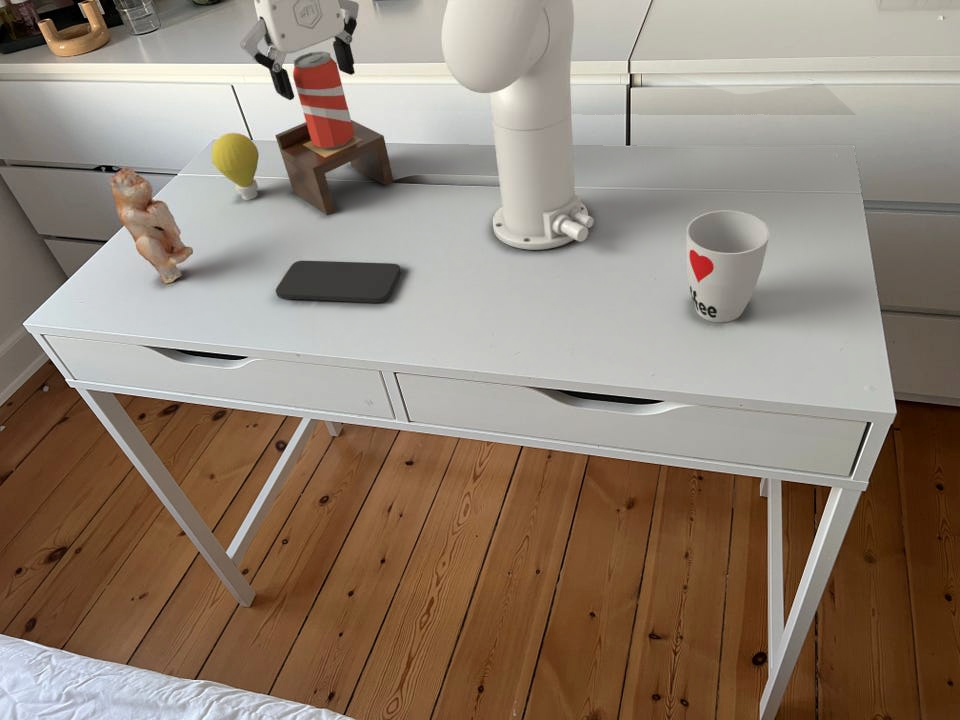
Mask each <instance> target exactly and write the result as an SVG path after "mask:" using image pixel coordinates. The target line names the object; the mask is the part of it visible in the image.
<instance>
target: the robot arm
mask: <svg viewBox="0 0 960 720" xmlns="http://www.w3.org/2000/svg"><path fill="white" fill-rule="evenodd" d="M253 3H254V7H255V13H256V16H257V20H258V21H257V22H256V23H255V24H254V26H253V27H252V28H251V29H250V30H249V31H248V33H247V34H246V35H245V36H244V38H243V39H242V40H241V41H240V43H239V45H240V48H241V49H242V50H243V51H244V52H245V53H246V54H247V55H248V56H249V57H250V58H251V59H252V61H254V62H256V63H257V64H259V65H261V66H263V67H265V68H266V69H268V71H269V75H270V77H271V81H272V83H273V86H274V89H275V92H276V93H277V94H278V95H279V96H281V97H282V98H285V99H286V100H288V101H292V100H294V98H295V92H294V90H293V87H292V83H291V80H290V77H289V73H288V70H287V69H285V68H284V67H283V66H284V62H285V59H286V56H287V54H294V53H296V52H299V51H303V50H305V49H307V48H310V47H313V46H315V45H318V44H320V43H323V42H326V41H329V40H330V39H333V38H334V41H332V43H333V44H332V46H333V51H334V55H335V59H336V63H337V67H338V71H339V72H342V73H345V74H348V75H349V76H352V75H354V74H355V68H354V65H355V60H354V55H353V52H352V48H351V43H352V42H353V34H354V32H355V30H356V28H357V25H358V22H357V19H358V15H359V8H360V5H359V2H357V1H355V0H253ZM342 9H343V10H344V15H343V12H342ZM442 20H443V21H442V26H441V35H440V36H441V38H440V39H441V40H440V41H441V42H440V43H441V51H442V55H443V58H444V62H445V64H446V67H447V69H448V71H449V73H450V74H451V75H452V77H453V78H454V79H455V81H456V82H458V83H459V84H460V85H461V86H462V87H463V88H465V89H467V90H469V91H472V92H475V93H480V94H489V103H490V112H491V113H490V114H491V124H492V132H493V141H494V149H495V155H496V165H497V173H498V182H499V189H500V197H501V206H500V208H498V209H497V210H496V212H495V213H494V215H493V217H492V228H493V233H494V235H495V236H496V237H497V239H498V240H499V241H501V242H502V243H504V244H506V245H508V246H510V247H512V248H516V249H521V250H527V251H529V250H530V251H540V250H549V249H553V248H557V247H562V246H564V245H566V244H568V243H570V242H573V241H574V240H575V241H576V242H579V243H582V242H584V241H585V240H586V239H587V237H588V235H589V229H590V228H592V227H593V225H594V223H595V219H594V217H592V216H590V215H589V213H588V209H587V207H586V205H585V204H584V203H583V202H582V199H581V197H580V196H578V195H576V185H575V166H574V165H575V164H574V145H573V144H574V143H573V123H572V93H571V91H572V90H571V67H572V66H571V63H572V50H573V40H574V29H575V28H574V27H575V11H574V3H573V0H447V3H446V7H445V11H444V15H443V19H442ZM262 39H263V40H264V42H265V43H264V44H265V45H266V46H267V50H266V53H265V54H263V53H262V51H260V49H259V47H258V44H259V43H260V41H261V40H262Z"/></svg>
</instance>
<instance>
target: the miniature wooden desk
mask: <svg viewBox="0 0 960 720" xmlns="http://www.w3.org/2000/svg"><path fill="white" fill-rule="evenodd" d="M348 111H349V112H350V110H349V109H348ZM349 115H350V113H349ZM350 116H351V115H350ZM350 119H351V117H350ZM351 123H352V127H353V131H354V136H353V137H352V138H351V139H350V141H349V142H347V143H346V144H345V145H343V146H341V147H338V148H334V149H324V148H321V147H319V146H316V145H313V144H312V140H311V137H310V134H309V130H308V127H307V123H306V121H305V122H303V123H299V124H298V125H295V126H293V127H290V128H289V129H286V130H284V131H282V132H279V133H277V134H275V138H276V143H277V146H278V148H279V152H280V155H281V158H282V161H283V165H284V167H285V170H286V173H287V176H288V180H289V182H290V186H291V189H292V192H293V194H294V195H296V196H298V197H299V198H301V199H302V200H303V201H305V202H307V203H308V204H310V205H311V206H312V207H314V208H315V209H317V210H318V211H320V212H322V213H324V215H327V216H328V215H330V214H332V213H335V212H336V208H335V204H334V201H333V197H332V194H331V190H330V187H329V183H328V179H327V177H326V174H327V173H329V172H331V171H334V170H336V169H337V168H338V169H339V168H340V167H342V166H344V165H346V164H349V163H350V166H351V167H352V168H354V169H356V170H357V171H359V172H361V173H363V174H365V175H366V176H368V177H370V178H372V179H374V180H376V181H377V182H379V183H380V184H382V185H384V186H388V185H390V184H392V183H394V182H395V180H394V175H393V172H392V167H391V163H390V158H389V154H388V148H387V145H386V140H385V135H383V134H381V133H379V132H377V131H375V130H373V129H371V128H369V127H367V126H365V125H362V124H361V123H359V122H358V121H355V120H353V119H351Z"/></svg>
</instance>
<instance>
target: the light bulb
mask: <svg viewBox="0 0 960 720" xmlns="http://www.w3.org/2000/svg"><path fill="white" fill-rule="evenodd" d="M259 156H260V155H259V150H258V147H257V146H256V144H255V143H254V142H253V141H252V140H251V139H250V137H248V136H246V135H245V134H242V133H240V132H239V133H237V132H230V133H226V134H222V135H221V136H220V137H219V138H218V139H217V140H216V141H215V142H214V144H213V146H212V149H211V160H212V163H213V166H214V167H215V168H216V169H217V170H218V171H219V172H220V173H221V174H222V175H223V176H224V177H225V178H226V179H228V180H229V181H231V182H232V183H234V184H235V187H234V188H235V190H236V193H237V194H238V195H240V196H241V198H242V200H246V201H250V200H253V199H255V198H257V196H258V189H259V185H258V182H257V180H256V179H254V178H255V176H256V172H257V169H258V163H259V158H260V157H259Z"/></svg>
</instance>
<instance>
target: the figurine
mask: <svg viewBox="0 0 960 720" xmlns="http://www.w3.org/2000/svg"><path fill="white" fill-rule="evenodd" d="M108 182H109V184H110V189H111V192H112V196H113V200H114V204H115V209H116V214H117V216H118V218H119V220H120V222H121V223H122V225H123V226H124V227H125V229H126V230H127V231H128V232H129V234H130V235H131V237H132V239H133V241H134V243H135V249H136V251H137V252H138V254H139V255H140V256H141V257H142V258H143V259H144V260H146V261H148V262H149V263H150V265H151V267H153V268H154V269H155V270H156V271H157V272H158V275H159V276H160V278H161V279H160V282H161V283H163V284H170V283H173V282H174V281H175V280H176V279H178V278H181V277H182V275H183V274H182V271H181V270H180V269H179V268H178V267H177V265H179V264H181V263H184V262H185V261H186V260H187V259H189V258H190V257H191V255H193V254H194V248H193V247H192V246H187V245H185V244H184V242H183V241H182V239H181V237H180V235H181V233H182V232H181V229H180V228H179V226H178V224H177V222H176V220H175V217H174V215H173V214H172V212H171V211H170V209H169V206H168V204H167V203H166V202H165V201H163V200H155V199H154V198H153V192H154V191H153V187H152V185H151V183H150V181H149V180H148V179H146V178H144V177H143V176H142V175H140V174H139V173H137V172H135V171H134V169H133V167H130V166H123V167H121V168H120V169H119V170H118V171H117V172H116V173H115V174H114V175H112V176H111V178H110V179H109V181H108Z"/></svg>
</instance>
